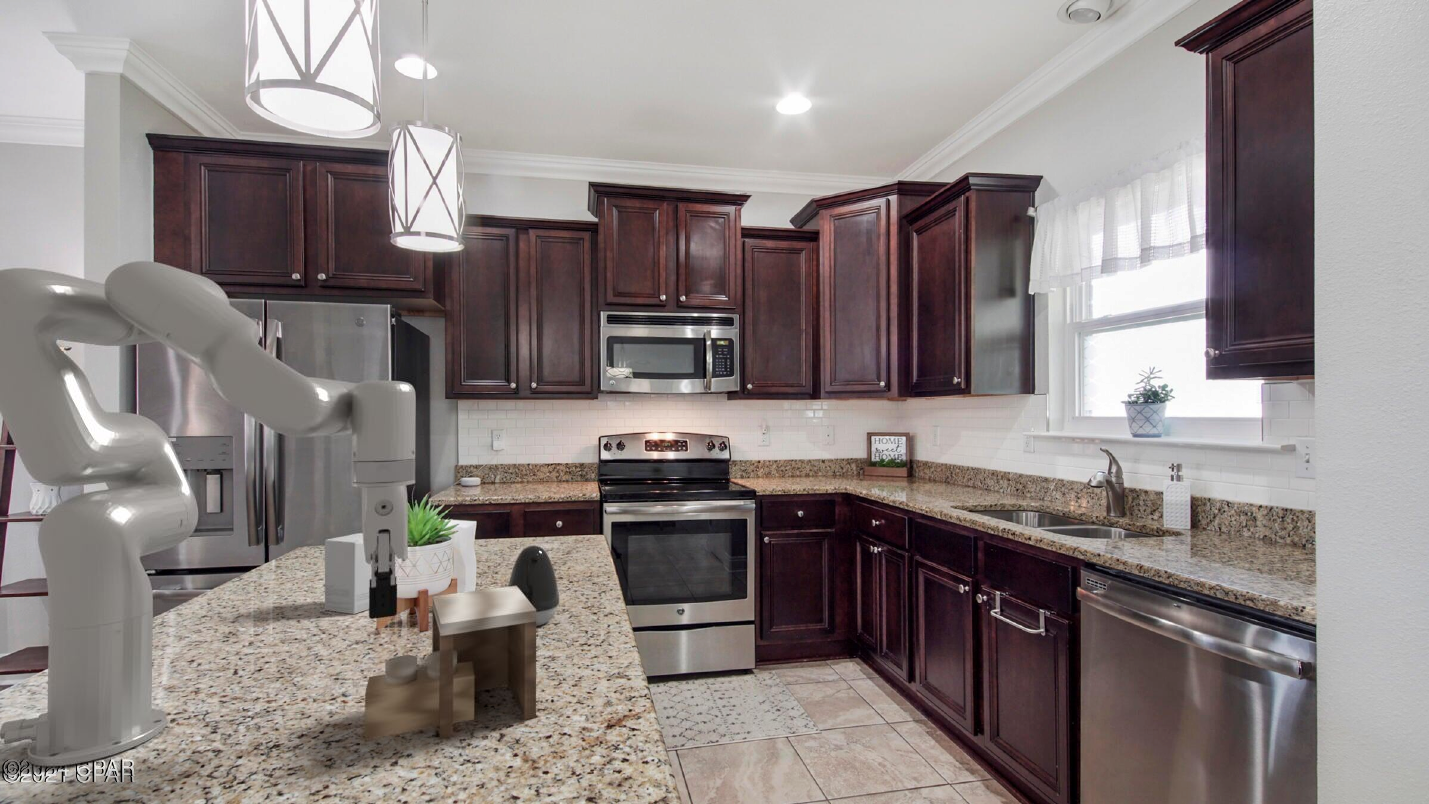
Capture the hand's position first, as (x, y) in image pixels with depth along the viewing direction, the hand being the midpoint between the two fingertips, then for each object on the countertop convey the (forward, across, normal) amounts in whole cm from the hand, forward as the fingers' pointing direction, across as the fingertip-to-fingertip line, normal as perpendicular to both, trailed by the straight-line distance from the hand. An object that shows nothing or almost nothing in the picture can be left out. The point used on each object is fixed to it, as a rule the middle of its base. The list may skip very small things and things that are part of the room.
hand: (382, 610), depth 84 cm
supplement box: (+15, +62, +4) cm, 64 cm away
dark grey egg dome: (+15, +33, -26) cm, 45 cm away
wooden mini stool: (+15, 0, -12) cm, 20 cm away
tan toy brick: (+15, 0, -5) cm, 16 cm away
